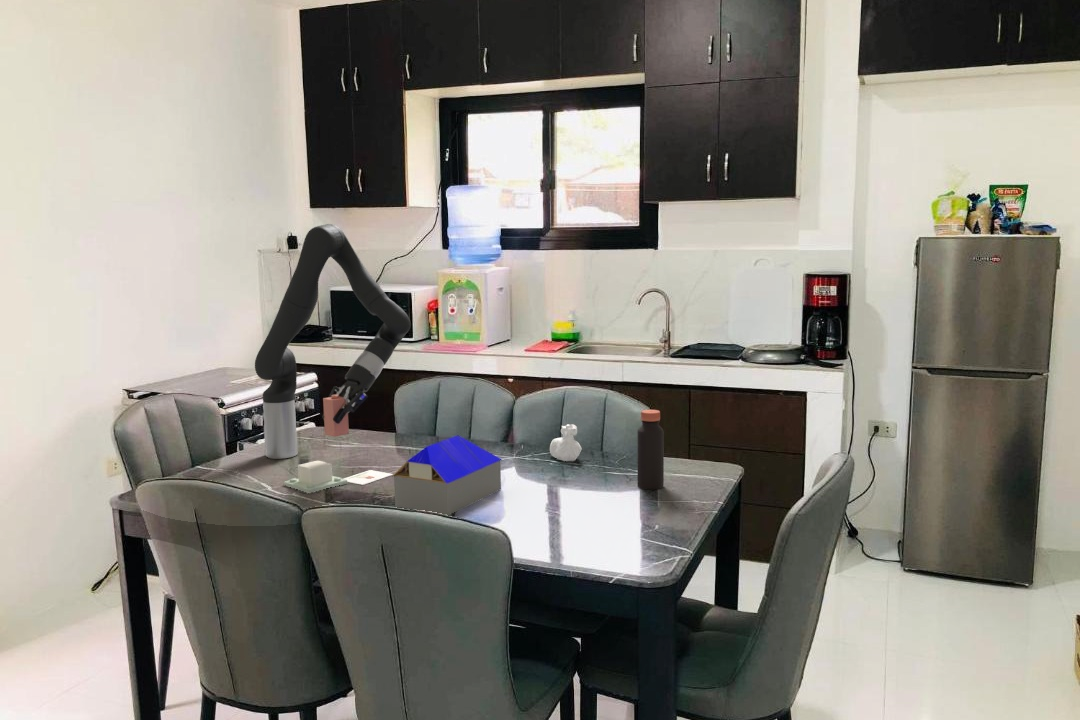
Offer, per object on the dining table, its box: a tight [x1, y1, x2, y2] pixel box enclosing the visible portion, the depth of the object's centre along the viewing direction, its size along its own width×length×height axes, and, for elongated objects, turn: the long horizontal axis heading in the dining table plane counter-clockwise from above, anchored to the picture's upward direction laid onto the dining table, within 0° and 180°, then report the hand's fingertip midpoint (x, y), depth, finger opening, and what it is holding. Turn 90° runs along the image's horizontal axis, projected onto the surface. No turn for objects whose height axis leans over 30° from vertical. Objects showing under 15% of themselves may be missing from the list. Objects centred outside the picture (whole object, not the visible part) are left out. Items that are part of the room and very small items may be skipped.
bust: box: [549, 423, 583, 462], centre depth 255 cm, size 12×8×11 cm
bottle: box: [637, 409, 665, 491], centre depth 223 cm, size 7×7×20 cm
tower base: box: [283, 460, 348, 494], centre depth 231 cm, size 12×12×6 cm
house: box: [391, 434, 503, 516], centre depth 217 cm, size 25×16×16 cm, turn 151°
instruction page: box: [343, 469, 395, 486], centre depth 238 cm, size 9×12×1 cm
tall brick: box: [322, 395, 350, 437], centre depth 235 cm, size 5×5×11 cm
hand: (330, 420), depth 233 cm, fingers closed on tall brick, 4 cm apart
